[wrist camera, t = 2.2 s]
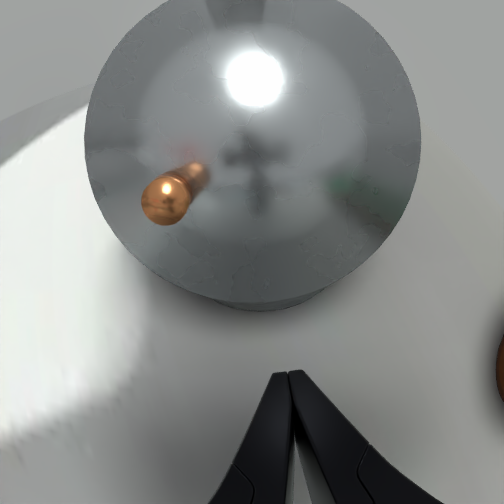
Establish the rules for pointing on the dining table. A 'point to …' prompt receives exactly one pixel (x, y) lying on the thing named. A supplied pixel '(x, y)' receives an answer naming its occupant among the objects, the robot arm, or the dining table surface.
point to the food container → (500, 369)
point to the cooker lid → (252, 145)
